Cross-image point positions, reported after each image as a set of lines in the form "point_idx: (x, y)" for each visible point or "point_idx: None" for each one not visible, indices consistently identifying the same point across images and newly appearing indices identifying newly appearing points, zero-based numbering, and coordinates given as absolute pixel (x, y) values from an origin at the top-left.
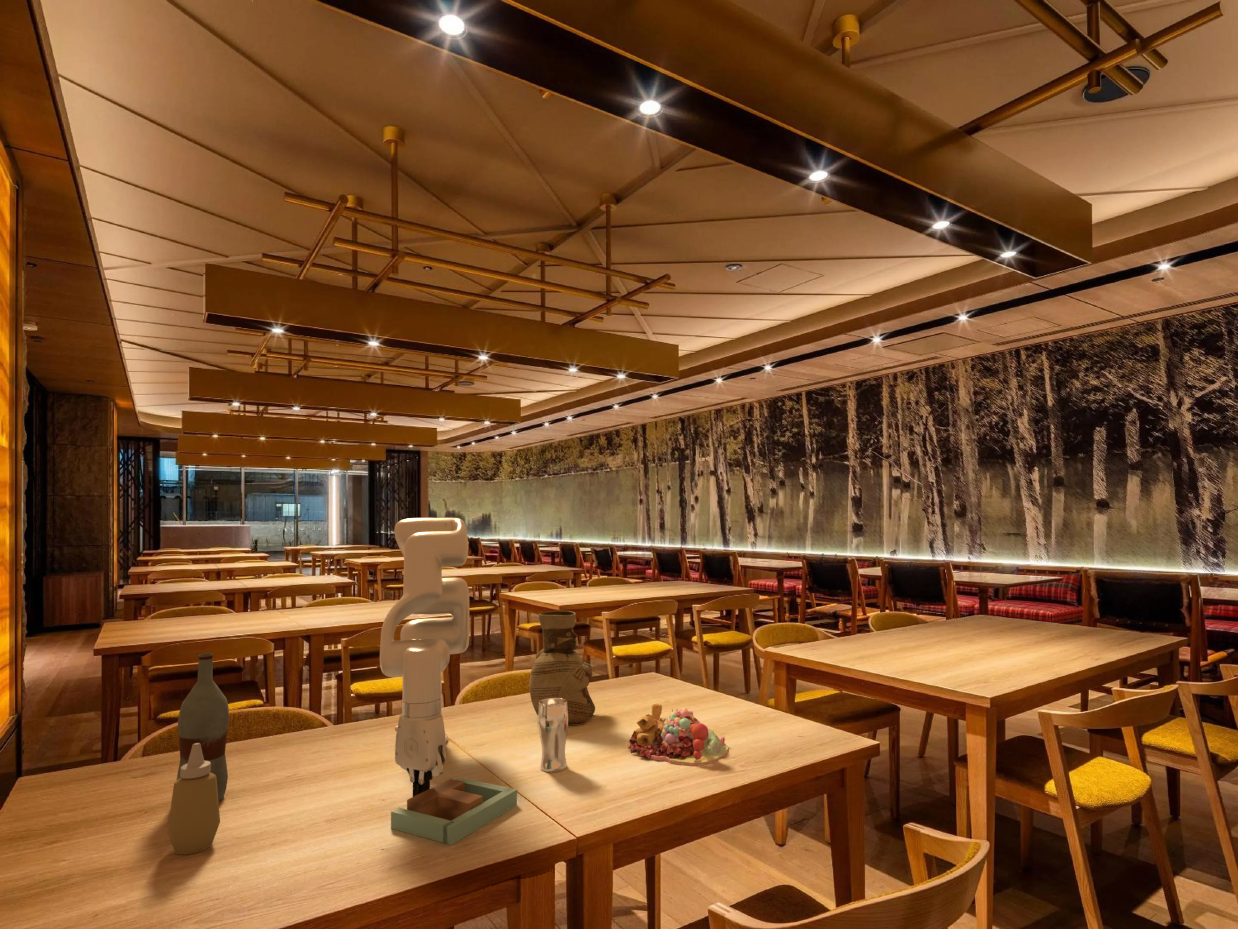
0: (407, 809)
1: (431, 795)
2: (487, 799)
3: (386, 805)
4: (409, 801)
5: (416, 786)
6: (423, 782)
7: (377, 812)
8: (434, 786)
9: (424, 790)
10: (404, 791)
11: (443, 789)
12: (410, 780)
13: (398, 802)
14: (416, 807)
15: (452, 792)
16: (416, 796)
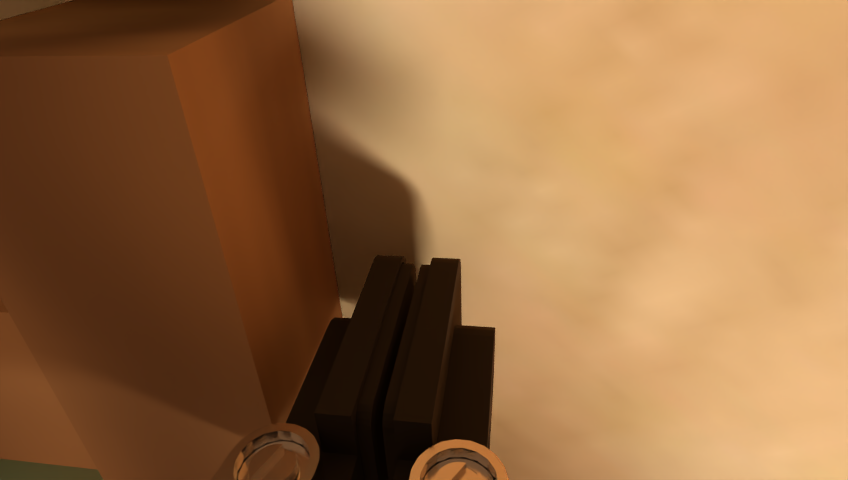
0: (225, 22)
1: (71, 303)
2: (96, 475)
3: (827, 197)
4: (126, 54)
5: (370, 395)
6: (232, 454)
7: (826, 8)
8: None
9: (304, 384)
10: (827, 454)
11: (140, 443)
12: (495, 465)
13: (732, 289)
14: (28, 37)
15: (4, 418)
16: (176, 211)
